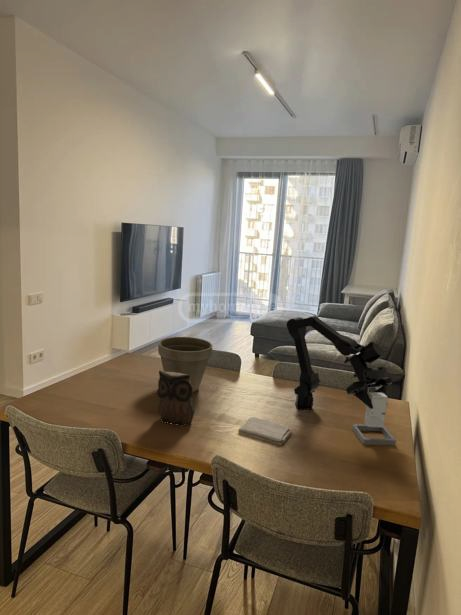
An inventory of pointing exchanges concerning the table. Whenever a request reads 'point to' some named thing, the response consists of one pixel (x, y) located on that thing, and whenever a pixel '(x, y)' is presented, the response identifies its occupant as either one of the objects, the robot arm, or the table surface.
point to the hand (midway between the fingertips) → (379, 407)
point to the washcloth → (265, 430)
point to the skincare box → (376, 410)
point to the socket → (373, 441)
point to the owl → (175, 398)
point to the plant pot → (185, 357)
